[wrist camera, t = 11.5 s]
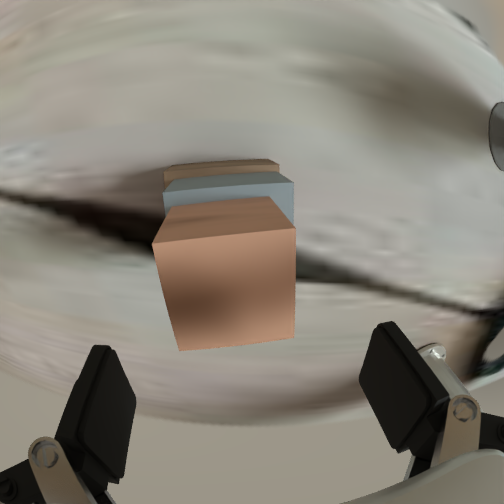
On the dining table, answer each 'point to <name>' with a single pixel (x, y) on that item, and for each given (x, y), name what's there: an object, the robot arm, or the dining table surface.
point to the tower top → (232, 190)
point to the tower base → (218, 169)
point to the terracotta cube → (228, 272)
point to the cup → (497, 134)
